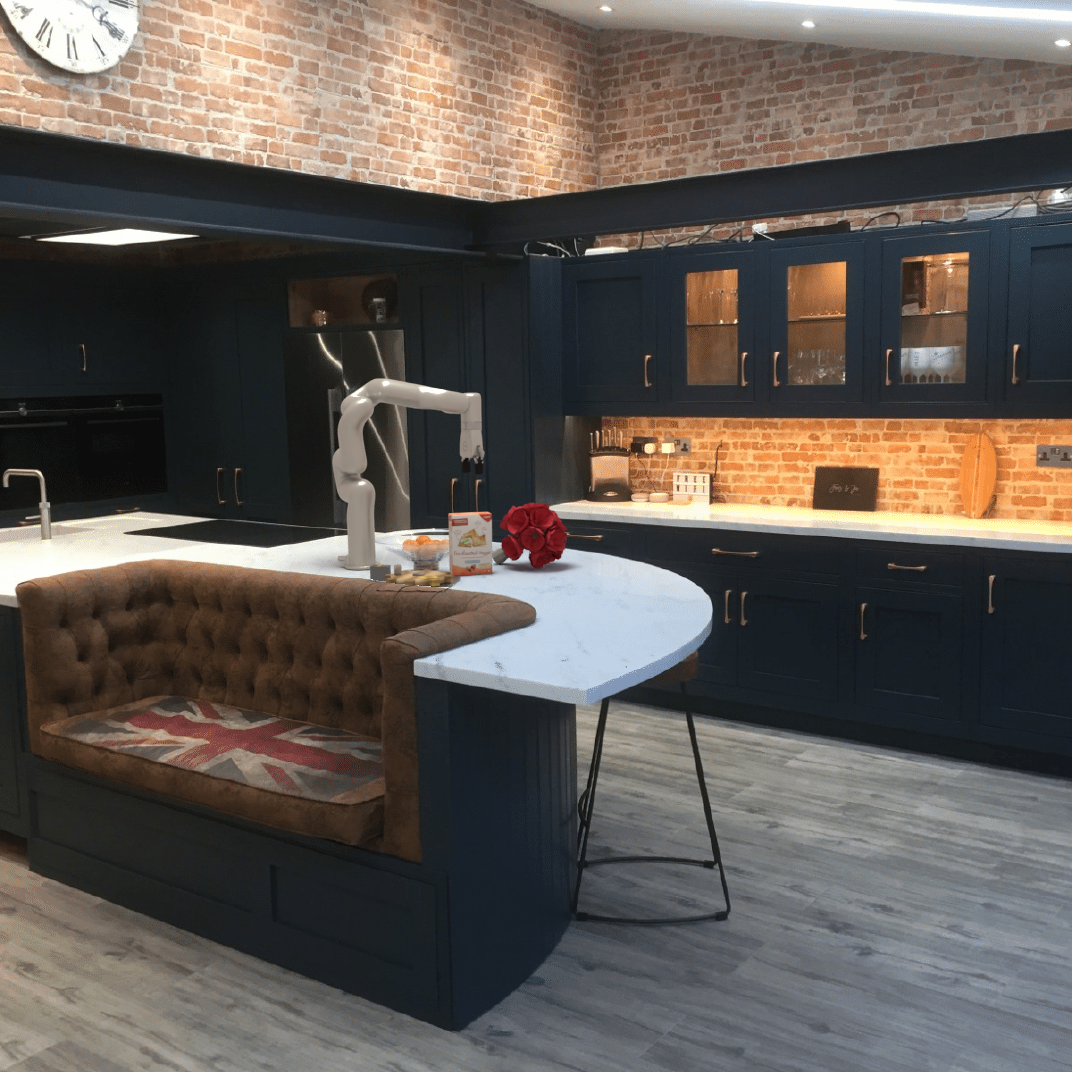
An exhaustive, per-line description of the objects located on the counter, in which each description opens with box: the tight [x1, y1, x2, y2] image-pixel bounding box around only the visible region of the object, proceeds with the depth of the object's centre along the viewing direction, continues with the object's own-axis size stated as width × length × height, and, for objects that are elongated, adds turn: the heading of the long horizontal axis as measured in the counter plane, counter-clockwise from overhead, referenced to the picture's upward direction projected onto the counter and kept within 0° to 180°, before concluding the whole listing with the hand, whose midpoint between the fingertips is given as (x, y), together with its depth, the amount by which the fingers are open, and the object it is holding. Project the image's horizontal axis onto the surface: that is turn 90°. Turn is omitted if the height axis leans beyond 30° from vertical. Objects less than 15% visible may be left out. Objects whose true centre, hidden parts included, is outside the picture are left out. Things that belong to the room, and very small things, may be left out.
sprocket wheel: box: [384, 564, 454, 587], centre depth 378 cm, size 22×22×5 cm
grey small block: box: [369, 563, 392, 582], centre depth 389 cm, size 6×4×5 cm, turn 80°
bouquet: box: [492, 502, 568, 570], centre depth 409 cm, size 22×24×30 cm
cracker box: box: [448, 511, 493, 577], centre depth 396 cm, size 14×6×21 cm, turn 105°
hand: (472, 473), depth 432 cm, fingers open, 9 cm apart
